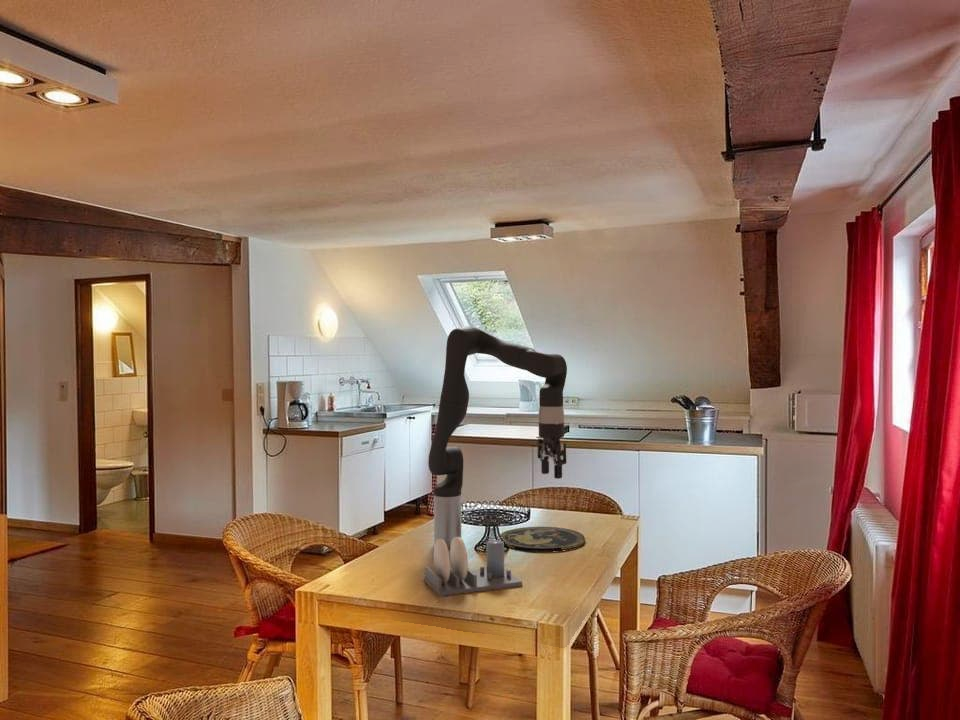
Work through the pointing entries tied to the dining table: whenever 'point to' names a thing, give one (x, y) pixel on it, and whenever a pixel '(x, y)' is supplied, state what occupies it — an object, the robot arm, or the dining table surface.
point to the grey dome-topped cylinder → (495, 558)
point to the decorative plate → (542, 539)
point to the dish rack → (461, 572)
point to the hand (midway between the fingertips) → (551, 475)
